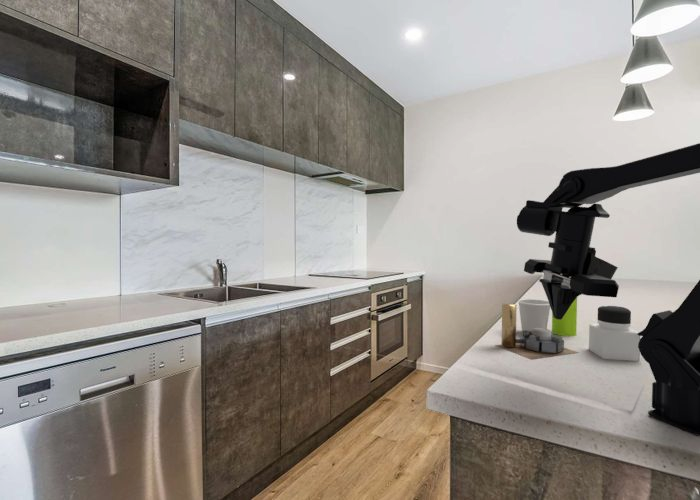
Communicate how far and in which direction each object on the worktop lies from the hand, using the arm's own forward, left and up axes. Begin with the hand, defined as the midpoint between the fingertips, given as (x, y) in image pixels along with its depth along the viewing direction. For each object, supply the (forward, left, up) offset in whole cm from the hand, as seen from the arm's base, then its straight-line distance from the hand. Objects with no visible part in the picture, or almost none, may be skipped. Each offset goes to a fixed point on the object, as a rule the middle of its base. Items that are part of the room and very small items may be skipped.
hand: (557, 318), depth 69 cm
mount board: (+13, -9, -12) cm, 20 cm away
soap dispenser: (+21, -28, -12) cm, 37 cm away
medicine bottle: (+4, -22, -12) cm, 26 cm away
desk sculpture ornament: (+14, -9, -10) cm, 20 cm away
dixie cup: (+24, -20, -12) cm, 34 cm away
